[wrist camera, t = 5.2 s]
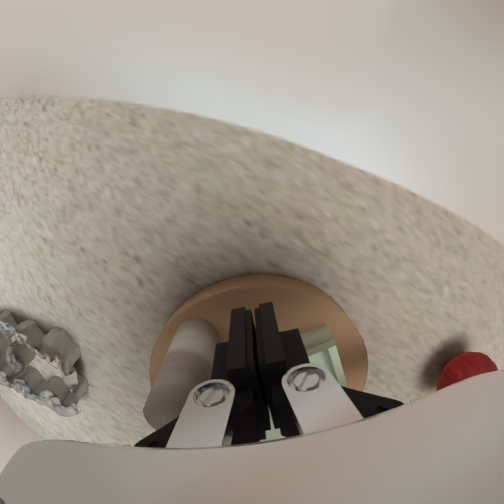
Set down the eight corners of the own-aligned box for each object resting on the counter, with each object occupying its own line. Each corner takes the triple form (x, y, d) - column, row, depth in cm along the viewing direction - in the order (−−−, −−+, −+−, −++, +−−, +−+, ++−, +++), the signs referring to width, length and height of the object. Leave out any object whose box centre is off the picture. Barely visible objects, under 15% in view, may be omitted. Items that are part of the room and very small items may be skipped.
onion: (411, 391, 20) (452, 451, 12) (439, 335, 18) (497, 388, 11) (451, 387, 20) (492, 436, 12) (477, 337, 19) (529, 380, 11)
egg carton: (83, 331, 18) (57, 359, 14) (94, 400, 20) (77, 430, 16) (-4, 299, 17) (-31, 315, 13) (12, 365, 19) (-9, 385, 15)
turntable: (369, 399, 18) (409, 476, 10) (211, 446, 19) (204, 527, 11) (328, 239, 15) (401, 291, 7) (122, 317, 16) (57, 397, 8)
